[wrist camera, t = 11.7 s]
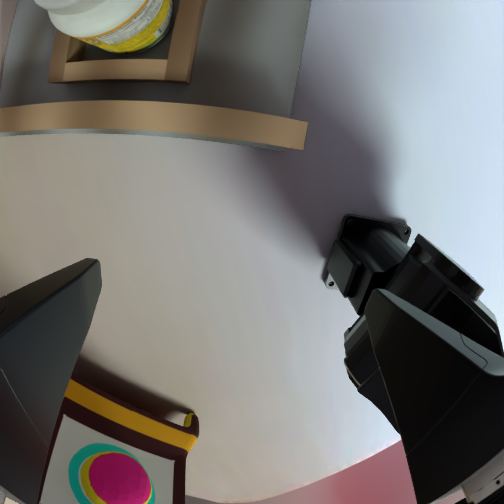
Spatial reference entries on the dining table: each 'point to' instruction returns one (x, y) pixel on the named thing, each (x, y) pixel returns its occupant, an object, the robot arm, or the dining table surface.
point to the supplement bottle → (113, 22)
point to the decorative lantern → (114, 452)
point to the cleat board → (163, 77)
